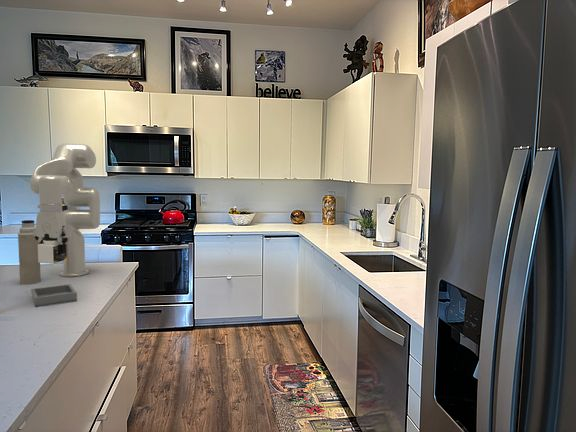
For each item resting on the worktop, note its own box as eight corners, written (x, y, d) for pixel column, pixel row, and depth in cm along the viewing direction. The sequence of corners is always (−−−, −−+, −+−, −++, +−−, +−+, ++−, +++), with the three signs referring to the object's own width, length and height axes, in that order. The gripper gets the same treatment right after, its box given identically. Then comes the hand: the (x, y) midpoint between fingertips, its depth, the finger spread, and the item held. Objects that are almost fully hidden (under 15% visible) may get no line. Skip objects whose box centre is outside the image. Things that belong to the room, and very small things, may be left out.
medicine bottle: (53, 264, 159) (52, 233, 158) (37, 262, 161) (36, 232, 159) (67, 260, 166) (66, 230, 165) (51, 259, 168) (50, 229, 166)
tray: (31, 297, 167) (31, 288, 166) (70, 292, 175) (70, 284, 175) (35, 307, 155) (35, 298, 155) (76, 301, 164) (76, 292, 163)
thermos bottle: (37, 278, 194) (35, 218, 191) (43, 282, 189) (41, 220, 186) (17, 281, 188) (15, 220, 185) (23, 285, 183) (20, 221, 180)
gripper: (23, 208, 159) (25, 254, 161) (65, 210, 156) (66, 256, 158) (37, 206, 166) (39, 250, 168) (77, 208, 164) (79, 252, 166)
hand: (52, 253), depth 163 cm, fingers closed on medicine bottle, 7 cm apart
